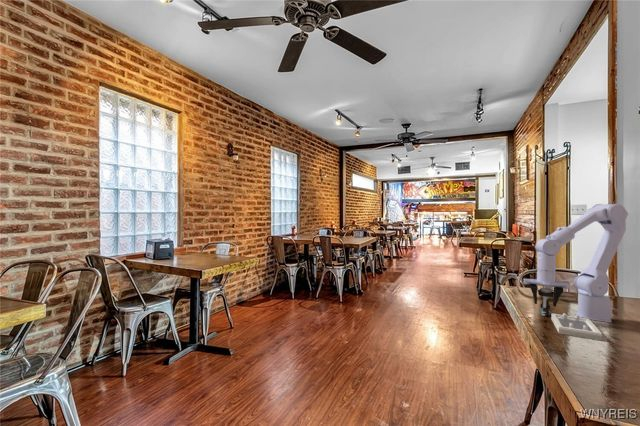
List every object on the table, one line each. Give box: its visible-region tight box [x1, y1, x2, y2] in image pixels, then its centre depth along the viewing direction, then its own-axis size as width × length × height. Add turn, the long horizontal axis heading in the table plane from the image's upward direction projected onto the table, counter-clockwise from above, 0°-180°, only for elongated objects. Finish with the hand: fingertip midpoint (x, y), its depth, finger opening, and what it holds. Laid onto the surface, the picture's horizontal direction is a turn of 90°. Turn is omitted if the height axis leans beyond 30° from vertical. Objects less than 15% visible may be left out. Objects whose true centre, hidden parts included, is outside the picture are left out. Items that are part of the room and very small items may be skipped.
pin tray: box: [550, 312, 603, 341], centre depth 112 cm, size 11×16×3 cm
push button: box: [537, 287, 554, 317], centre depth 126 cm, size 7×5×10 cm
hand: (544, 304), depth 126 cm, fingers open, 5 cm apart
